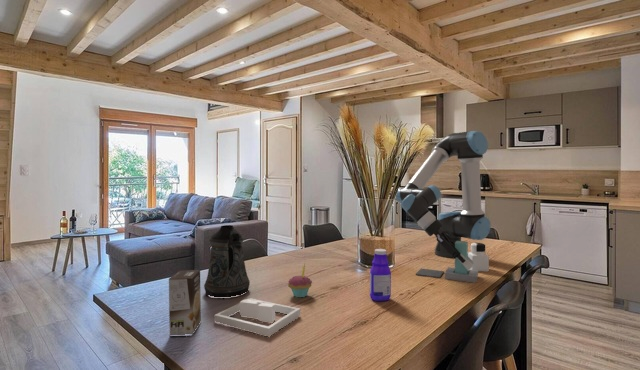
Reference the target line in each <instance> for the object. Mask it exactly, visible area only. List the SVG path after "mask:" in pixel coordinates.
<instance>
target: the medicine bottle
mask: <svg viewBox="0 0 640 370" xmlns="http://www.w3.org/2000/svg"><path fill="white" fill-rule="evenodd" d="M468 257H469V258H470V259H471V260H472V261H473V262H474V264H473V267H471V268H470V269H469V270H477V271H478V272H489V270H490V265H489V264H490V256H489V255H488V254H486V244H485V243H483V242H473V243H471V244H470V251H468Z"/></svg>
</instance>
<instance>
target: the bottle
mask: <svg viewBox="0 0 640 370" xmlns="http://www.w3.org/2000/svg"><path fill="white" fill-rule="evenodd" d="M387 257H388V256H387V250H386V249H384V248H376V249H374V257H373V259H372V261H371V263H372V265H371V267H370V270H369V296H370V299H371V300H373V301H375V302H384V301H385V302H386V301H389V300H390V298H391V296H392V295H391V293H392V292H391V290H392V288H391V287H392V272H391V268H390V266H389V264H390V262H389V260H388V258H387Z"/></svg>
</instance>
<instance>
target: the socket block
mask: <svg viewBox="0 0 640 370" xmlns="http://www.w3.org/2000/svg"><path fill="white" fill-rule="evenodd" d="M478 278H479V271H477V270H471V269H469V270H468V274H460V273H455V267H449V266H448V267H447V269H446V270H445V271H444V280H451V281H458V282H459V281H460V282H466V283H473V284H476V283H477V281H478Z"/></svg>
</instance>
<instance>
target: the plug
mask: <svg viewBox="0 0 640 370" xmlns="http://www.w3.org/2000/svg"><path fill="white" fill-rule="evenodd" d="M468 247H469V243H468V241H462V240H461V241H456V242H455V248H456V249H457V250H458V251H459V252H460V254H462V255H463V256H464V257H465V258H466V259H467V260H468V252H469V251H468V250H469V249H468ZM454 268H455V273H460V274H468V270H467V269H466V268H465V266H464V265H463V264H462V263H461V262H460V261H459V260H458V259H457V258H455V259H454Z"/></svg>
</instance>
